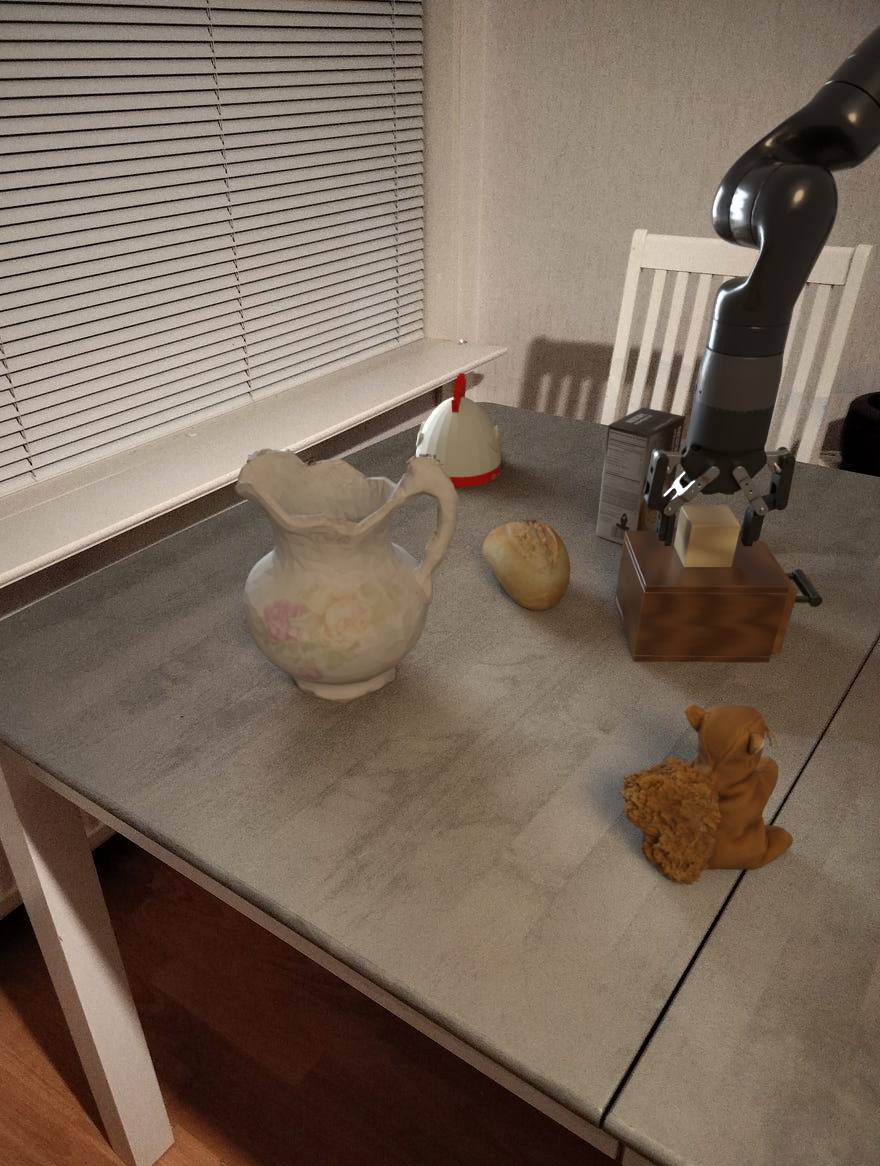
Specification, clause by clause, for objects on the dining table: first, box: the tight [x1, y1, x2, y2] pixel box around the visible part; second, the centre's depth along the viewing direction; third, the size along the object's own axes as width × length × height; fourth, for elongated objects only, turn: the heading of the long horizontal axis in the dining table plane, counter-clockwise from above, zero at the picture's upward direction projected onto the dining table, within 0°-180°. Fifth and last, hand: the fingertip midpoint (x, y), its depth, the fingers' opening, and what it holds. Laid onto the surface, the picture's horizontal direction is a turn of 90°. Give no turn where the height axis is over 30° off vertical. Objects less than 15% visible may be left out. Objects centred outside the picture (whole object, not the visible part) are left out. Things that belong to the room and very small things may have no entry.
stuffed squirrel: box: [618, 703, 794, 886], centre depth 68 cm, size 10×14×13 cm
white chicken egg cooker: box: [415, 372, 502, 488], centre depth 134 cm, size 14×14×15 cm
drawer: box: [759, 539, 823, 653], centre depth 95 cm, size 18×11×8 cm, turn 87°
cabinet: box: [614, 530, 790, 663], centre depth 95 cm, size 15×13×10 cm
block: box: [674, 504, 742, 568], centre depth 91 cm, size 5×5×5 cm
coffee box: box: [595, 407, 686, 545], centre depth 114 cm, size 9×6×16 cm
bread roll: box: [481, 518, 571, 611], centre depth 105 cm, size 10×15×8 cm, turn 18°
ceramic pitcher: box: [234, 447, 459, 704], centre depth 87 cm, size 22×20×25 cm
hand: (705, 543), depth 92 cm, fingers open, 8 cm apart
